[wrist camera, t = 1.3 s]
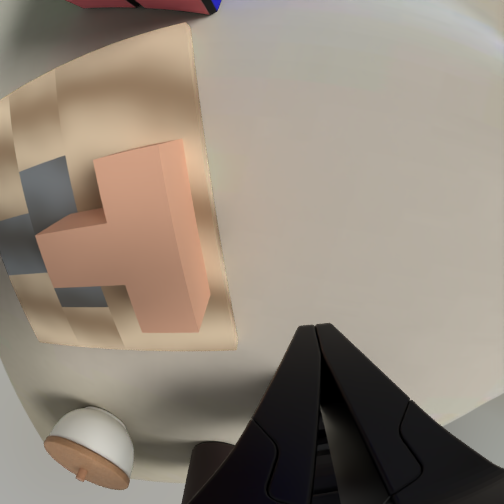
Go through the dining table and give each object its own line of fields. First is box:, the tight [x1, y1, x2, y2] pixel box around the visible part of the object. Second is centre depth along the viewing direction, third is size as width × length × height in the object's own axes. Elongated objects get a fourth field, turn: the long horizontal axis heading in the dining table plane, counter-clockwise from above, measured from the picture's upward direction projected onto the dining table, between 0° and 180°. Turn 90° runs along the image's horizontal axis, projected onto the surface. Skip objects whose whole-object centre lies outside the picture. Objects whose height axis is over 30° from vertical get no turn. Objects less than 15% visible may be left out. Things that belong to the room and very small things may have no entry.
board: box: [0, 22, 238, 351], centre depth 19 cm, size 22×20×1 cm
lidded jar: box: [44, 406, 134, 490], centre depth 26 cm, size 11×11×9 cm
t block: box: [35, 139, 211, 333], centre depth 17 cm, size 10×9×4 cm
